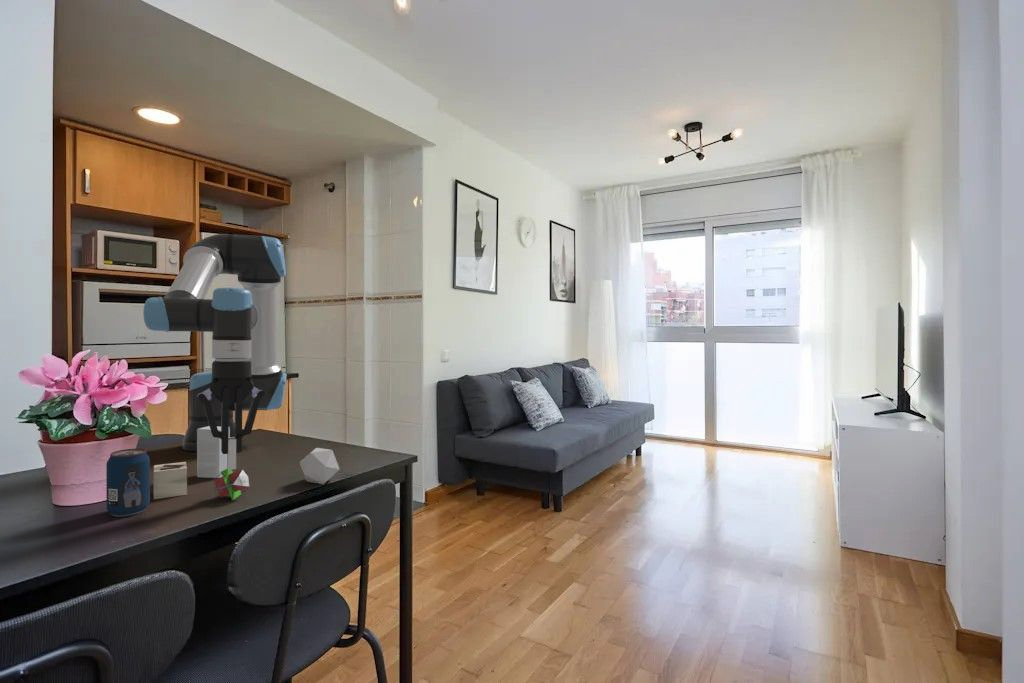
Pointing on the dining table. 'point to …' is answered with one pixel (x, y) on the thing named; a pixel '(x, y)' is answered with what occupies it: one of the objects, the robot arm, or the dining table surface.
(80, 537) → the dining table surface
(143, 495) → the soda can
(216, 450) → the skincare box
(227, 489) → the geometric puzzle
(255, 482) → the dining table surface
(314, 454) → the die
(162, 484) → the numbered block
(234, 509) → the dining table surface
